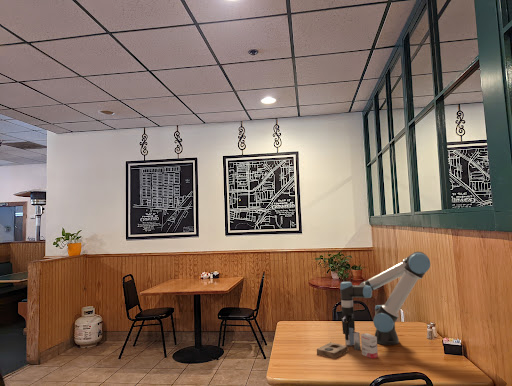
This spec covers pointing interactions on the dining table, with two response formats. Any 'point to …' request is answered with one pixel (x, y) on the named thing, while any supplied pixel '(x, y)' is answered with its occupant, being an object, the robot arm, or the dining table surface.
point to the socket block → (332, 350)
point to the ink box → (369, 345)
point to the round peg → (356, 340)
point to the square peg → (351, 336)
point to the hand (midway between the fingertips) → (349, 343)
